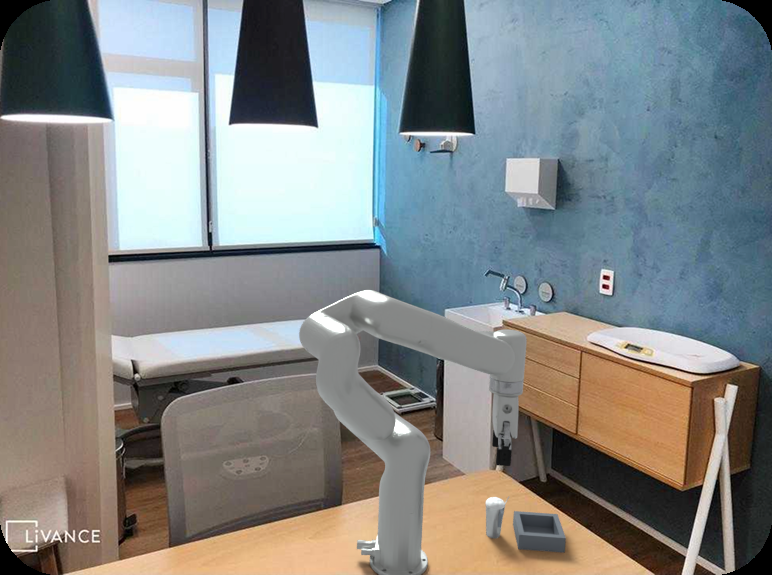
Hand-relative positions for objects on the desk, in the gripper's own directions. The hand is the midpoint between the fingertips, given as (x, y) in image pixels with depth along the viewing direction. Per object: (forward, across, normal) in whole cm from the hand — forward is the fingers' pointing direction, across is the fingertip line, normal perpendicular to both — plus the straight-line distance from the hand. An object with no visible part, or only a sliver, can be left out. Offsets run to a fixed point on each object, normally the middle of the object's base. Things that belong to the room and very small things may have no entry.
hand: (500, 455), depth 151 cm
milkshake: (+20, 0, 0) cm, 20 cm away
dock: (+20, 0, -10) cm, 22 cm away
